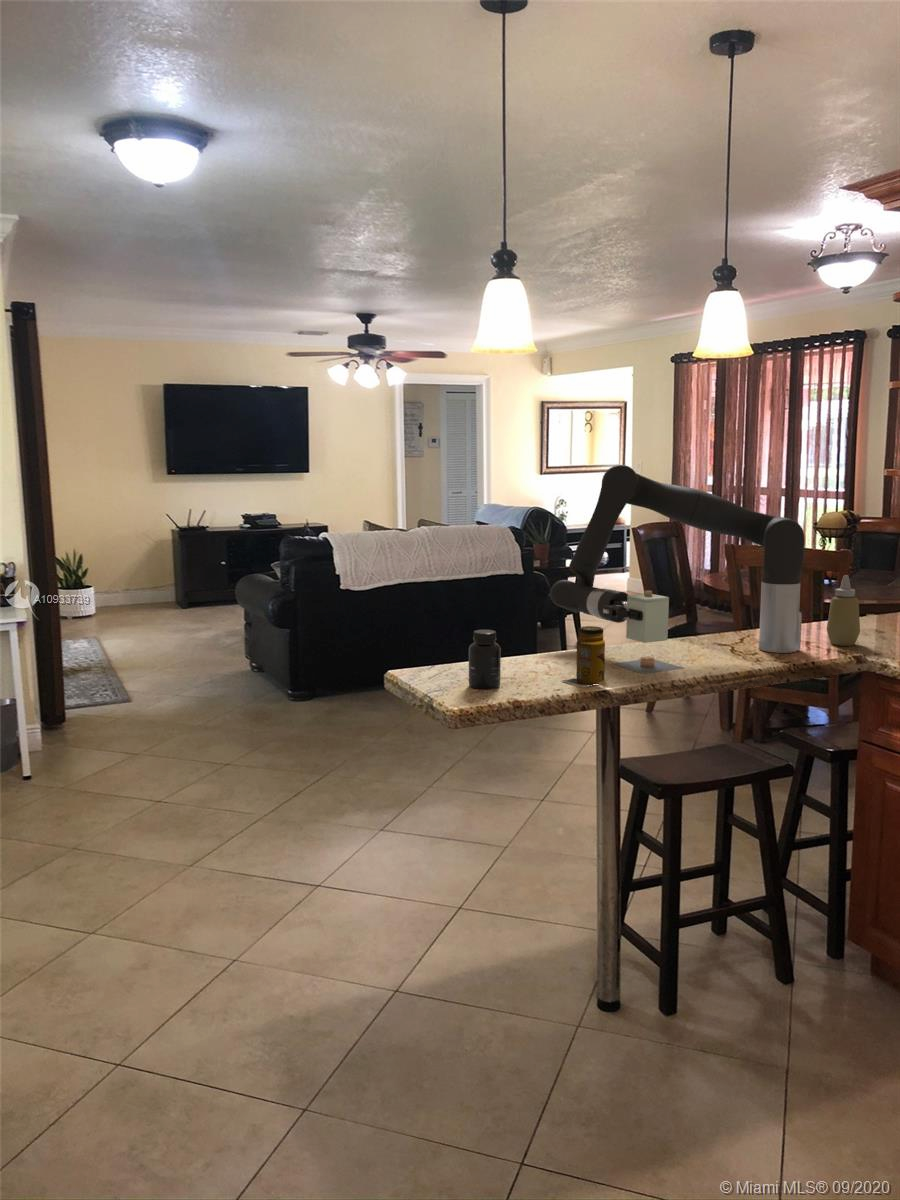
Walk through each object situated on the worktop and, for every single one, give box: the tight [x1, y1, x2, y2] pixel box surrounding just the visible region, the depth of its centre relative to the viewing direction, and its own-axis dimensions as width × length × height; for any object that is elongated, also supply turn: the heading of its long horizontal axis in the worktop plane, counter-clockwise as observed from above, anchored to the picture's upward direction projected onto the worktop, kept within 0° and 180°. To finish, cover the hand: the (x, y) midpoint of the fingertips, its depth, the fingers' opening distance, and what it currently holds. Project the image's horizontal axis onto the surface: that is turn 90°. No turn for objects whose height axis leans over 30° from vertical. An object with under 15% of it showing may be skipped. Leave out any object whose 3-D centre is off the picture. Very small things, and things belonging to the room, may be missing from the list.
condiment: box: [560, 625, 606, 688], centre depth 195 cm, size 7×8×12 cm
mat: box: [611, 659, 684, 675], centre depth 209 cm, size 12×12×1 cm
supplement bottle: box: [468, 629, 502, 691], centre depth 193 cm, size 7×7×12 cm
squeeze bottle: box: [826, 574, 861, 647], centre depth 233 cm, size 8×8×18 cm
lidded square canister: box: [625, 590, 670, 644], centre depth 207 cm, size 7×7×11 cm
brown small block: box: [639, 656, 656, 667], centre depth 208 cm, size 3×3×2 cm
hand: (654, 614), depth 205 cm, fingers closed on lidded square canister, 6 cm apart
